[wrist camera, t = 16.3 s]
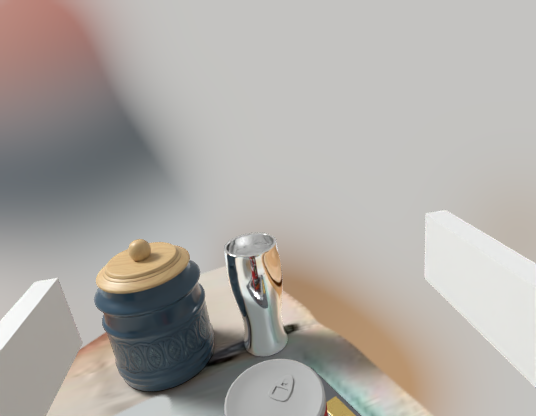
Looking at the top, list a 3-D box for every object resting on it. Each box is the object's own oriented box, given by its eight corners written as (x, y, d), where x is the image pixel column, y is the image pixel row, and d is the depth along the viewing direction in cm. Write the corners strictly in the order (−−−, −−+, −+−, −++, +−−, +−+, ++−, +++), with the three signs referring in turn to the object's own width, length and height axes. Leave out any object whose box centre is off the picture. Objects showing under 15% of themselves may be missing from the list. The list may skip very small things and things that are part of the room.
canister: (228, 326, 56) (205, 217, 50) (195, 398, 44) (160, 267, 38) (150, 324, 59) (119, 221, 53) (99, 391, 47) (53, 268, 41)
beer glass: (266, 367, 47) (248, 262, 42) (230, 344, 52) (210, 248, 47) (301, 336, 51) (289, 238, 46) (266, 318, 56) (251, 227, 51)
